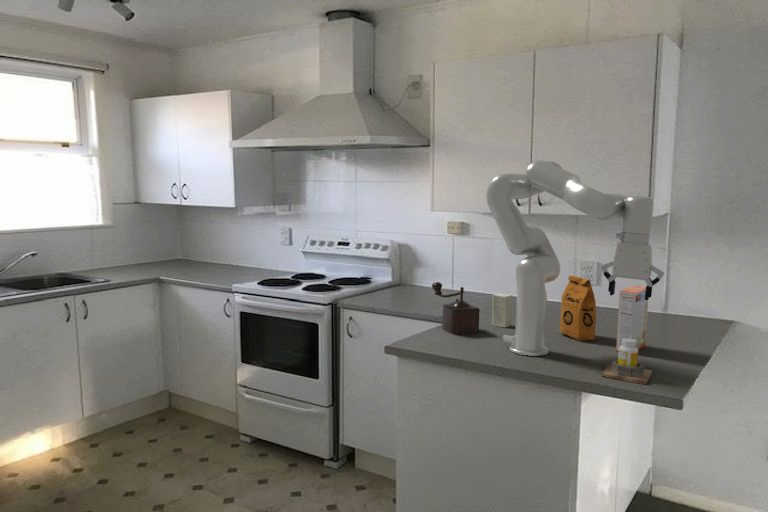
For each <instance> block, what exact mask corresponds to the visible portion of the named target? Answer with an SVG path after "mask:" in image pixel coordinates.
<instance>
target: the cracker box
mask: <svg viewBox="0 0 768 512" xmlns="http://www.w3.org/2000/svg"><path fill="white" fill-rule="evenodd" d="M645 291H646V286H641V285H631V286H628V287H627V288H624V289H621V290H619V295H618V297H619V298H618V313H617V331H616V346H615V351H616V352H619V347H620V346H621V345H623V344H622V339H624V338H630V339H634V340H636V341H637V345H636V346H635V347H637V348H638V351H639V350H642V349H643V348H644V347H645V346H646V338H647V323H648V322H647V321H648V313H649V312H648V310H649V307H648V306H649V299H648V300H645Z"/></svg>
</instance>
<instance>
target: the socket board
mask: <svg viewBox="0 0 768 512" xmlns="http://www.w3.org/2000/svg"><path fill="white" fill-rule="evenodd" d="M652 373H653V370H651V369H646V368H645V364H644V363H642V362H640V361H637V367H627V366H621V365H619V364H618V359H613V360H612V361H611V363H609V364H608V365H607V367H605V369H604V370H603V372H602V373H601V377H602V376H607V377H611V378H615V379H614V380H617V379H619V380H618V381H623V380H624V382H628V381H629V383H635V384H641V385H645V386H646V385H647V384H648V382H649V380H650V378H651V376H652ZM611 378H610V379H611Z"/></svg>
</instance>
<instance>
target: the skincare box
mask: <svg viewBox="0 0 768 512" xmlns="http://www.w3.org/2000/svg"><path fill="white" fill-rule="evenodd" d="M491 303H492V305H491V306H492V310H491V311H492V312H491V313H492V314H491V326H495V327H500V328H509V327H510V326H511V325H512V322H511V321H512V295H511V294H504V293H494V294H492V302H491Z"/></svg>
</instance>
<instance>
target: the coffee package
mask: <svg viewBox="0 0 768 512" xmlns="http://www.w3.org/2000/svg"><path fill="white" fill-rule="evenodd" d="M567 279H568V283H567V285H566V287H565V289H564V291H563V293H562V295H561V305H560V319H559V320H560V323H559V333H560V334H563V335H566V336H568V337H569V338H571V339H575V340H577V341H579V342H581V341H583V342H586V341H589V342H590V341H595V338H596V337H595V336H596V335H595V334H596V325H597V324H596V323H597V311H596V310H597V307H596V306H597V305H596V298H595V293H594V289H593V286H592V283H591V280H590V279H587V278H583V277H579V276H575V275H569V276H568V278H567Z"/></svg>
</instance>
